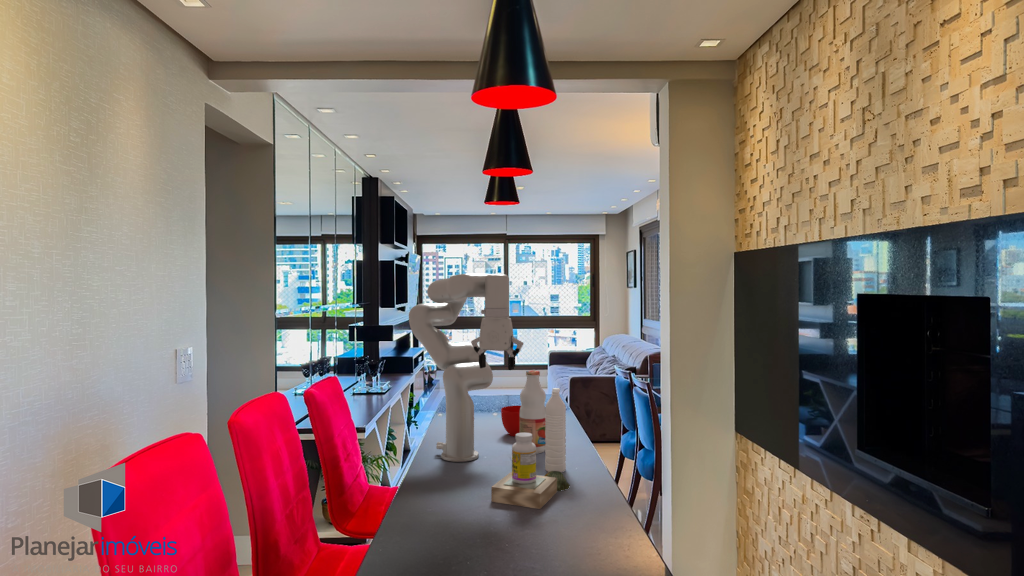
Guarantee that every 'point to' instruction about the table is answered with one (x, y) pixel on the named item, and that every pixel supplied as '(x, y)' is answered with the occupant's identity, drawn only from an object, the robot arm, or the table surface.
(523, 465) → the supplement bottle
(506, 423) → the ceramic cup
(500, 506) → the table surface
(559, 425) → the water bottle
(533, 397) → the fruit juice
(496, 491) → the plinth
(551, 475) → the seashell
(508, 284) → the robot arm
